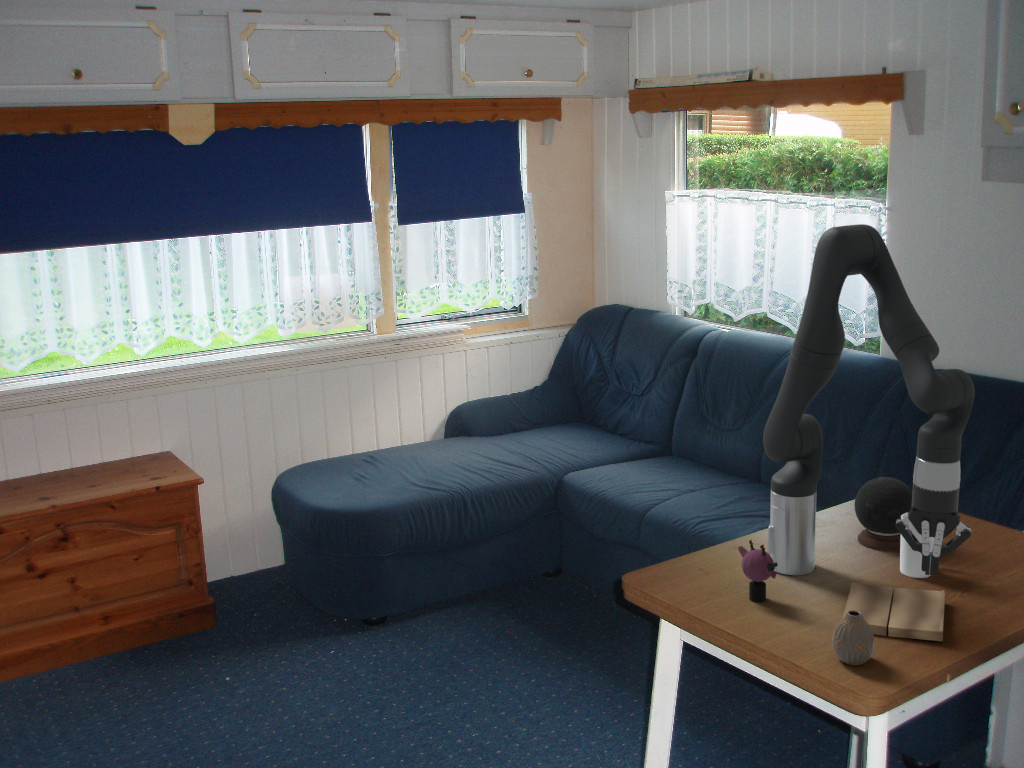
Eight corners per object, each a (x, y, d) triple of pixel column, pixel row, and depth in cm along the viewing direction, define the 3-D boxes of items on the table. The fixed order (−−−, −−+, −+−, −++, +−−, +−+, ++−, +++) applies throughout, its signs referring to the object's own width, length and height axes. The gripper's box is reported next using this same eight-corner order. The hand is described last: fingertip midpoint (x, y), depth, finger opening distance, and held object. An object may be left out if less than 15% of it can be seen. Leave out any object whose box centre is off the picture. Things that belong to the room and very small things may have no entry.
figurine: (776, 609, 192) (777, 551, 190) (734, 605, 195) (735, 548, 192) (778, 592, 200) (779, 536, 197) (737, 588, 202) (738, 533, 200)
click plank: (888, 636, 180) (888, 625, 179) (895, 596, 196) (894, 586, 195) (942, 641, 176) (942, 630, 176) (944, 600, 192) (944, 590, 192)
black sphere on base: (846, 547, 221) (849, 482, 218) (860, 527, 232) (862, 466, 229) (909, 557, 214) (912, 491, 211) (920, 536, 225) (923, 473, 222)
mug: (923, 581, 202) (926, 526, 199) (892, 572, 207) (894, 518, 204) (946, 567, 208) (949, 513, 206) (915, 558, 213) (918, 505, 211)
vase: (880, 668, 169) (882, 620, 167) (841, 671, 169) (842, 623, 167) (863, 648, 176) (865, 602, 174) (825, 651, 175) (826, 605, 173)
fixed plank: (841, 629, 183) (842, 620, 183) (851, 590, 199) (852, 582, 199) (886, 635, 180) (886, 626, 180) (892, 595, 196) (893, 587, 196)
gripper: (894, 484, 173) (888, 576, 177) (977, 493, 168) (970, 587, 172) (897, 471, 180) (891, 560, 184) (977, 479, 175) (970, 570, 179)
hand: (929, 573), depth 178 cm, fingers closed
